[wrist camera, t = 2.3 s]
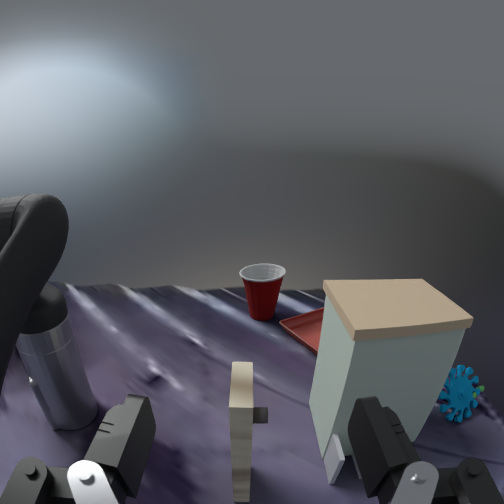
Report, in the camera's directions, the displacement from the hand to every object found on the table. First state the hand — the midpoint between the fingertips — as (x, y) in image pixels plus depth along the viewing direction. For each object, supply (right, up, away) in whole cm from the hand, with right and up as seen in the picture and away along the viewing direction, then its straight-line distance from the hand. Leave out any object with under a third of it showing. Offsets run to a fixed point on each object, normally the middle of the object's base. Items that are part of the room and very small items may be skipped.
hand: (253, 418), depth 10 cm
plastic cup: (+2, -10, +63) cm, 63 cm away
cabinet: (+16, -20, +25) cm, 36 cm away
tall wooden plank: (-1, -22, +18) cm, 28 cm away
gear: (+34, -21, +26) cm, 48 cm away
